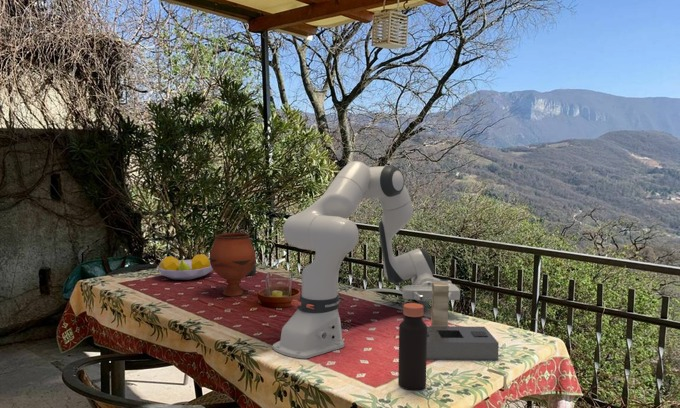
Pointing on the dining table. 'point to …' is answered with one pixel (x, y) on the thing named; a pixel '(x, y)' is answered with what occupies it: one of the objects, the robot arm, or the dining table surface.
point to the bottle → (412, 348)
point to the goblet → (232, 259)
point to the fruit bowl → (185, 267)
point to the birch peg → (439, 304)
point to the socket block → (460, 343)
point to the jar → (252, 271)
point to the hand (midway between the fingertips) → (434, 298)
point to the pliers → (341, 298)
